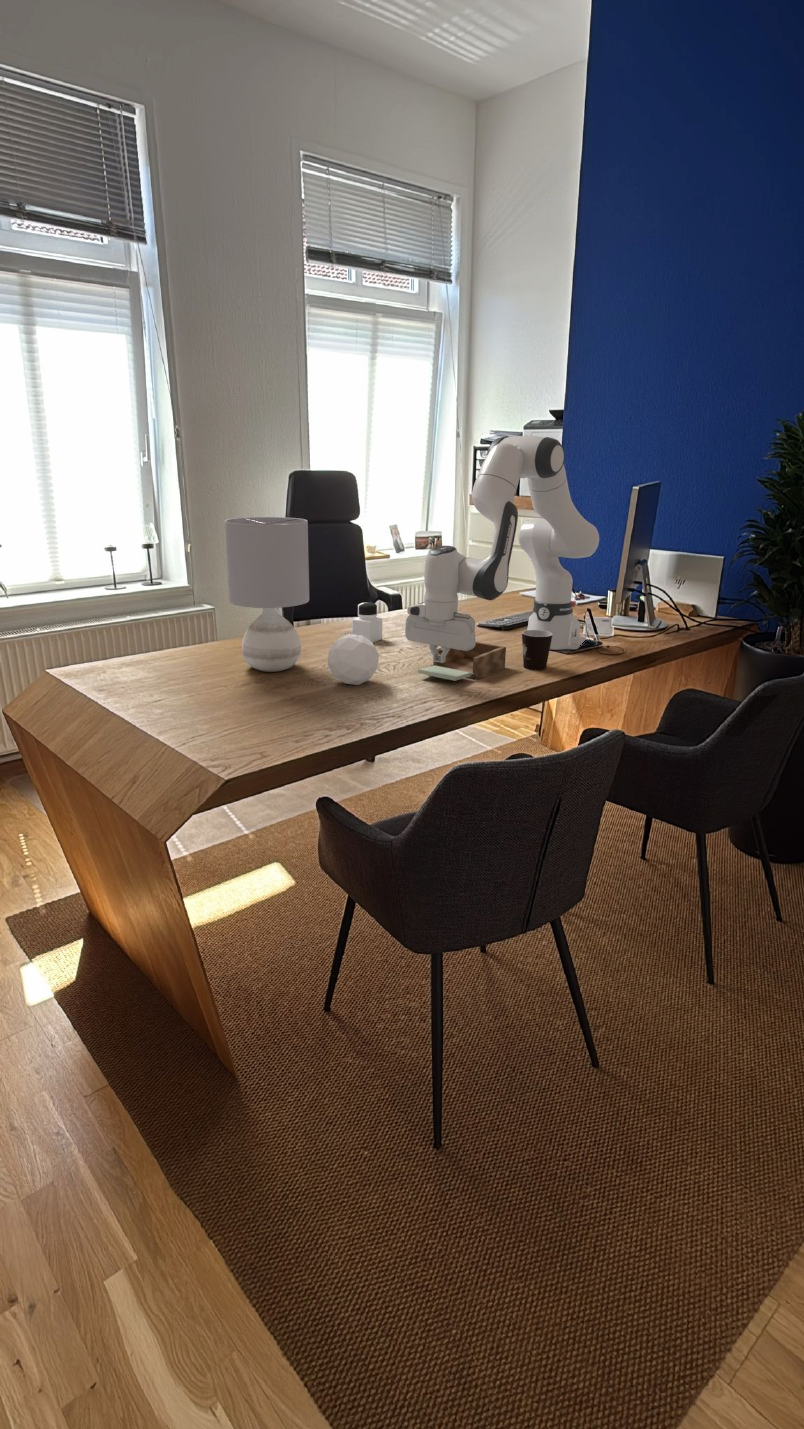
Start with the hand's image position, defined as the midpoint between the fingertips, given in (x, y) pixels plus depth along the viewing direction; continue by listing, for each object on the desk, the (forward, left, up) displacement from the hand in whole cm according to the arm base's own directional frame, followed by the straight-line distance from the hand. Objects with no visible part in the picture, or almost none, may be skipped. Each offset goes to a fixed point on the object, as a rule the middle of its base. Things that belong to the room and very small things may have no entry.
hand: (439, 661), depth 208 cm
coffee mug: (-31, +13, -6) cm, 34 cm away
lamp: (+18, -44, -6) cm, 48 cm away
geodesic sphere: (+15, -17, -6) cm, 23 cm away
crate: (-16, 0, -6) cm, 17 cm away
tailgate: (-7, 0, -4) cm, 8 cm away
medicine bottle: (-25, -44, -6) cm, 51 cm away
